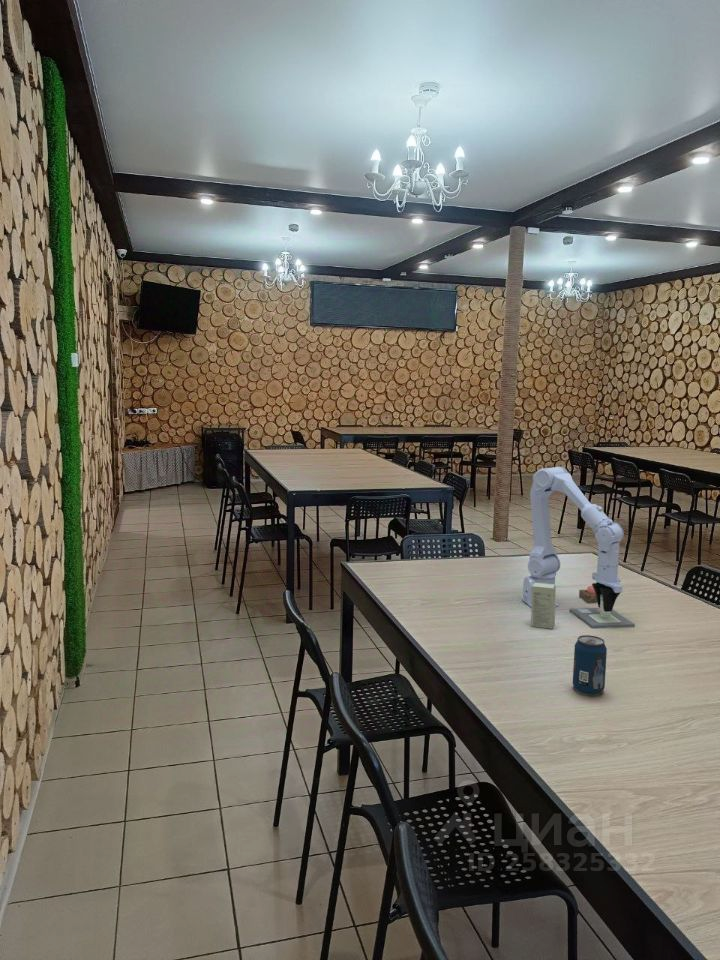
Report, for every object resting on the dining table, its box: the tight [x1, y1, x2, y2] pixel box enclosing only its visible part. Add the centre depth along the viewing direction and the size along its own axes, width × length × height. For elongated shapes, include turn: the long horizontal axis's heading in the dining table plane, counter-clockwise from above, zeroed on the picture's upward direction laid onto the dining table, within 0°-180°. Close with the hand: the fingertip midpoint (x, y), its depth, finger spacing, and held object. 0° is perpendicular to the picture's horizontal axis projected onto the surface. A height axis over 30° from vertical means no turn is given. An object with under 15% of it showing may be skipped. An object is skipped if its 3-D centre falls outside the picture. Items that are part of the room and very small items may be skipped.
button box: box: [578, 589, 598, 604], centre depth 220 cm, size 6×6×2 cm
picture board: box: [569, 607, 636, 629], centre depth 202 cm, size 13×15×1 cm
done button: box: [586, 585, 596, 594], centre depth 220 cm, size 4×4×3 cm
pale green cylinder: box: [600, 594, 610, 617], centre depth 199 cm, size 3×3×6 cm
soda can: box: [572, 634, 608, 697], centre depth 153 cm, size 7×7×12 cm
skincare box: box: [530, 583, 557, 629], centre depth 195 cm, size 6×4×12 cm
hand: (605, 609), depth 199 cm, fingers closed on pale green cylinder, 3 cm apart
